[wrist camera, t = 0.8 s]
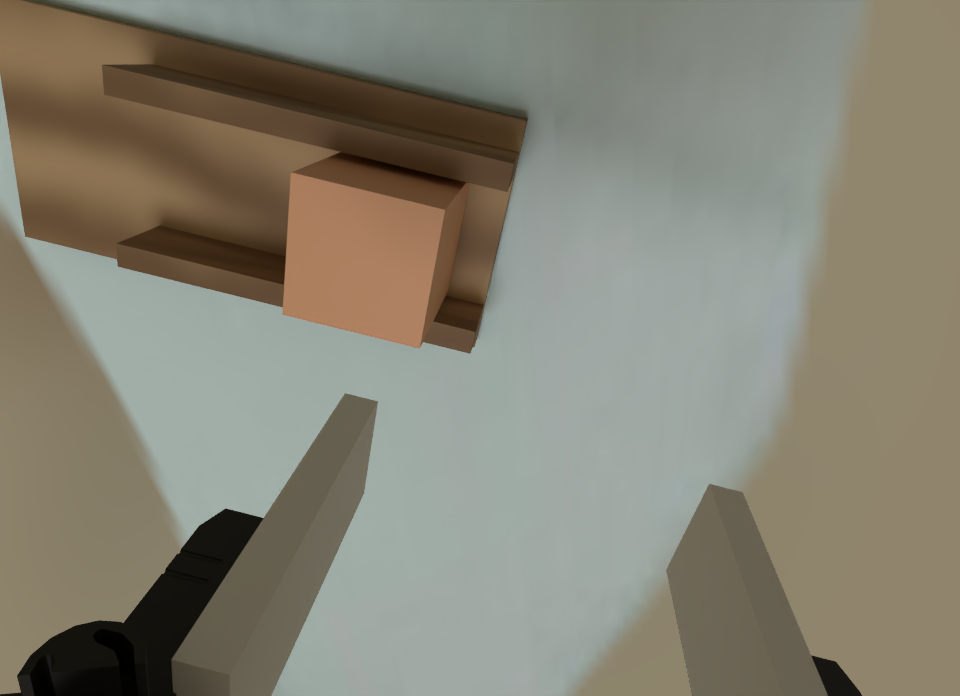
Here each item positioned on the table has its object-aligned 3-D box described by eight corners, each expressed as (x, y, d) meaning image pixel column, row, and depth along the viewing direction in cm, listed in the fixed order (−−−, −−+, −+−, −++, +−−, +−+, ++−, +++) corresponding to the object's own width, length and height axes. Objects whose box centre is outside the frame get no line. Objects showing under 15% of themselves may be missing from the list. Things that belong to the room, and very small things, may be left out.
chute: (6, -6, 28) (-86, -17, 24) (527, 119, 28) (521, 129, 24) (39, 231, 34) (-31, 254, 30) (476, 339, 33) (464, 377, 29)
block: (350, 147, 28) (291, 172, 22) (470, 177, 28) (445, 209, 22) (338, 263, 31) (282, 314, 25) (448, 290, 31) (419, 348, 25)
